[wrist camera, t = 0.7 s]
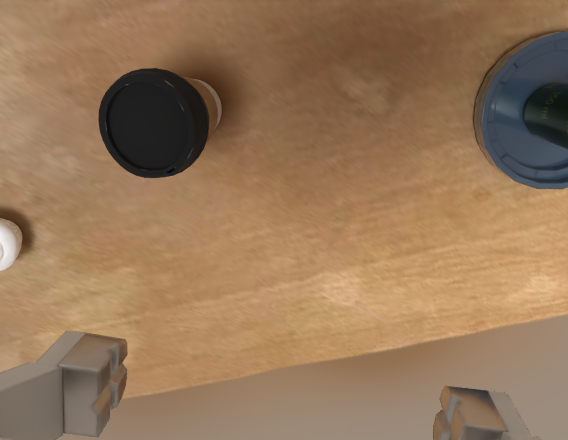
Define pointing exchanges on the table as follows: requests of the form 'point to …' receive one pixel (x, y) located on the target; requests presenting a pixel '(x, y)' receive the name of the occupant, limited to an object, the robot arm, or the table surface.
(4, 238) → the muffin
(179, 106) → the coffee cup
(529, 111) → the beer can
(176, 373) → the table surface
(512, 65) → the bowl
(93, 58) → the table surface
